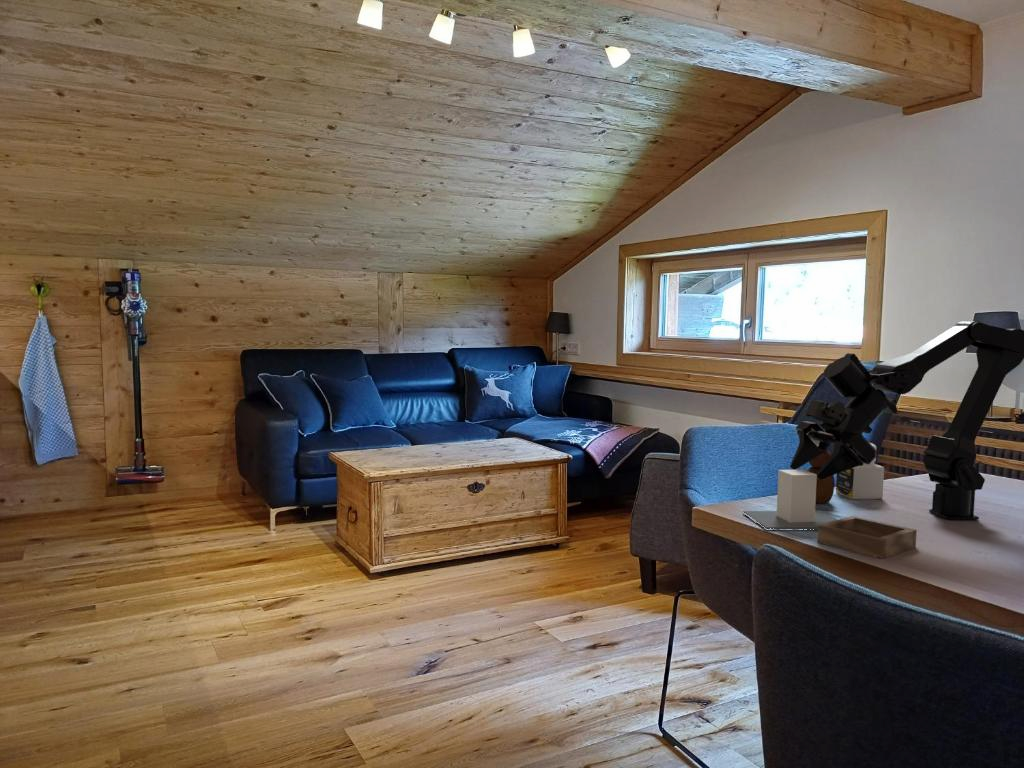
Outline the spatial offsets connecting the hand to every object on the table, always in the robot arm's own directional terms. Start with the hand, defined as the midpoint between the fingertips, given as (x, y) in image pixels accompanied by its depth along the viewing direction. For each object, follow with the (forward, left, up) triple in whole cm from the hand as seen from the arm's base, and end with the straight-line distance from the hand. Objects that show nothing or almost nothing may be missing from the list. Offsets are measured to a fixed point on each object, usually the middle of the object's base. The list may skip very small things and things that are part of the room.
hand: (804, 473), depth 147 cm
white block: (+2, 0, -9) cm, 9 cm away
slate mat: (+2, 0, -9) cm, 10 cm away
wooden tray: (-4, +15, -9) cm, 18 cm away
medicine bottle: (-22, -22, -10) cm, 33 cm away
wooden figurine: (-10, -16, -10) cm, 21 cm away
